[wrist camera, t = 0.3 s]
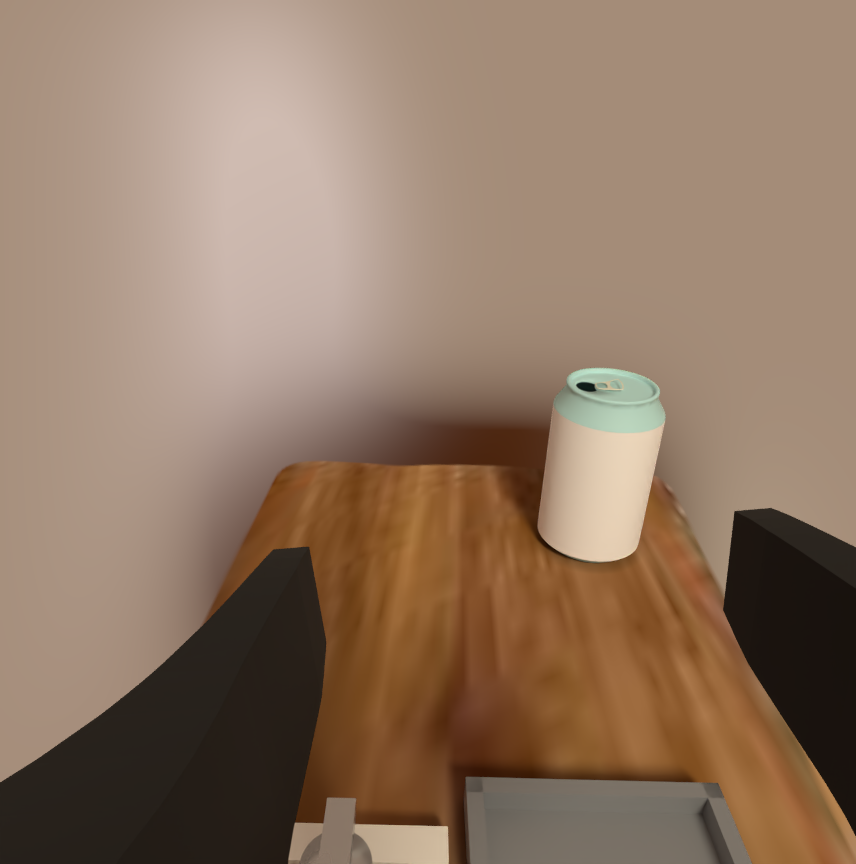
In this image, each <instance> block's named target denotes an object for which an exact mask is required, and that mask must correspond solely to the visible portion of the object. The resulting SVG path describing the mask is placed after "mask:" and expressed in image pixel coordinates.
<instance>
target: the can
mask: <svg viewBox="0 0 856 864" xmlns="http://www.w3.org/2000/svg"><path fill="white" fill-rule="evenodd" d="M659 395H660V389H659V387H658V386H657V385H656V384H655V383H654V382H653V381H651V380H650V379H648V378H646V377H644V376H641V375H638V374H636V373H632V372H629V371H624V370H618V369H611V368H587V369H581V370H578V371H575V372H573V373H572V374H570V375H569V376H568V377H567V385H566V386H565V387H564V388H563V389H562V390H561V391H560V392H559V393H558V394H557V396H556V397H555V399H554V403H553V410H552V418H551V426H550V433H549V441H548V449H547V456H546V464H545V471H544V479H543V486H542V494H541V501H540V509H539V517H538V524H537V526H538V531H539V533H540V535H541V537H542V538H543V539H544V540H545V541H546V542H547V543H548V544H549V545H550V546H551V547H553V548H554V549H556V550H557V551H559V552H560V553H562V554H564V555H565V556H568V557H570V558H572V559H575V560H579V561H583V562H590V563H603V562H610V561H615V560H619V559H622V558H625V557H627V556H629V555H630V554H632V553H633V552H634V551H635V550H636V548H637V546H638V544H639V539H640V534H641V530H642V525H643V521H644V516H645V511H646V507H647V502H648V497H649V493H650V488H651V483H652V479H653V474H654V470H655V465H656V460H657V456H658V451H659V446H660V442H661V437H662V432H663V428H664V423H665V417H666V416H665V411H664V409H663V407H662V405H661V403H660V401H659V399H658V397H659Z"/></svg>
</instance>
